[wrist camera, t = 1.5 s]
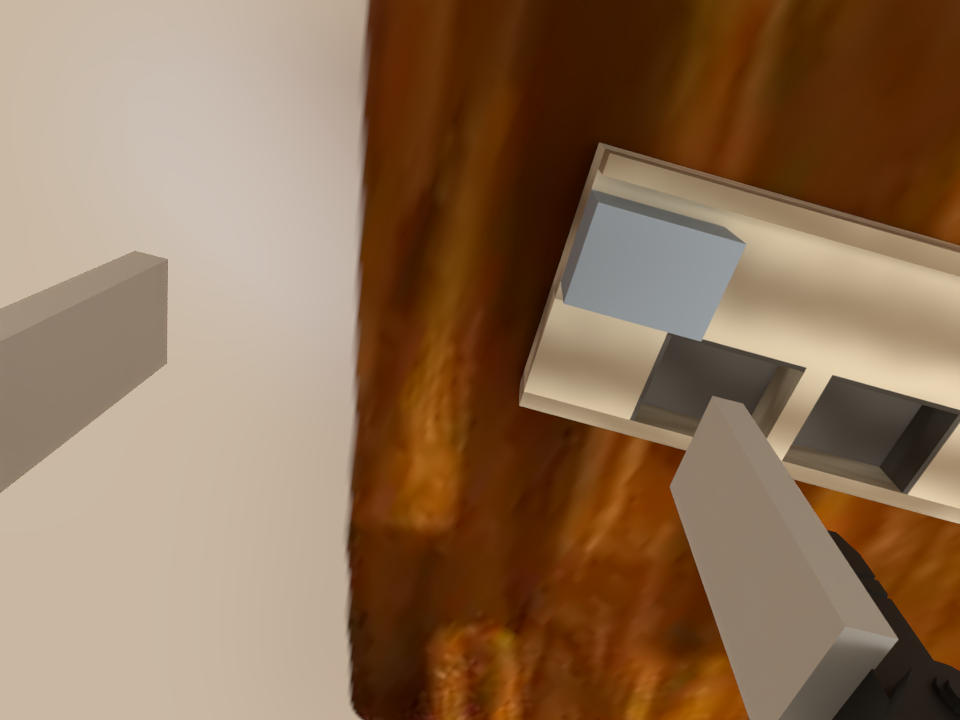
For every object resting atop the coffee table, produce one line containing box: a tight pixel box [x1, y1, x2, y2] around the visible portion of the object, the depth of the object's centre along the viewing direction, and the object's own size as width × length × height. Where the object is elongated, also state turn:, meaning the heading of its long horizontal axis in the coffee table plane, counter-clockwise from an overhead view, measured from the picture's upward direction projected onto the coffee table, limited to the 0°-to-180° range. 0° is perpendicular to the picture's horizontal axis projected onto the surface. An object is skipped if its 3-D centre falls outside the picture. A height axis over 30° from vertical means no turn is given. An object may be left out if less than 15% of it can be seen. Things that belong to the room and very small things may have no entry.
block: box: [561, 189, 747, 341], centre depth 29 cm, size 5×7×4 cm
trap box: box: [519, 143, 960, 524], centre depth 33 cm, size 15×29×5 cm, turn 75°
